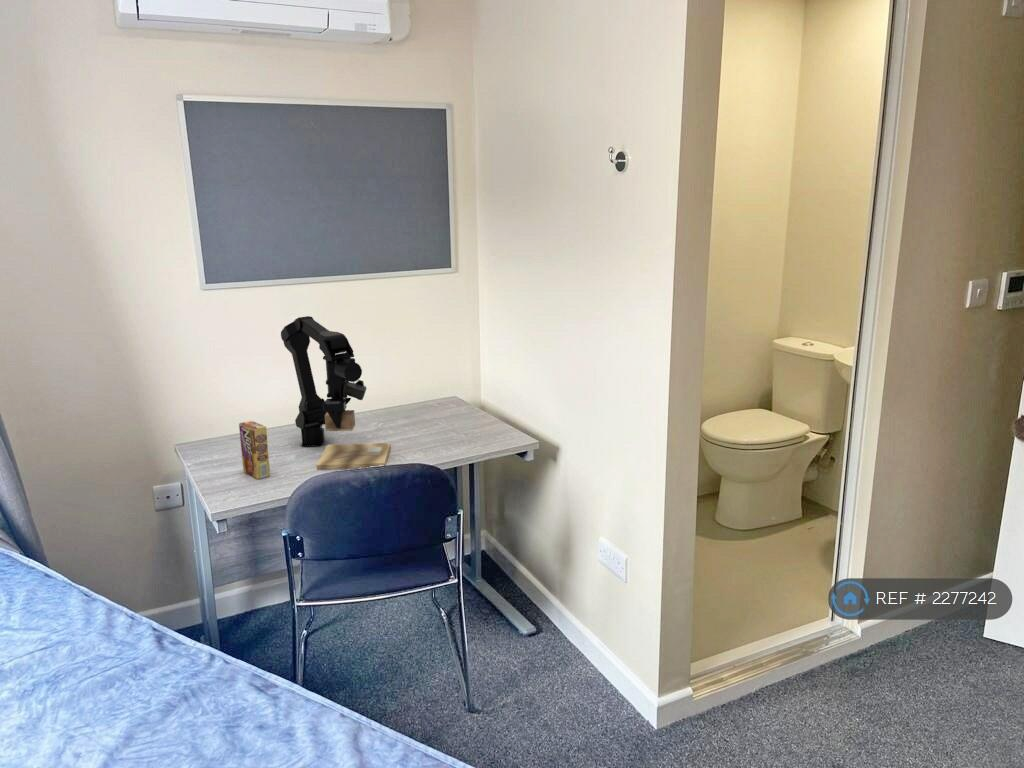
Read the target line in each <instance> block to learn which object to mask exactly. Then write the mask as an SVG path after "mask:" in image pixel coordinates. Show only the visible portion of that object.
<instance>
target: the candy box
mask: <svg viewBox="0 0 1024 768" xmlns="http://www.w3.org/2000/svg"><path fill="white" fill-rule="evenodd" d="M238 427H239V429H238V430H239V439H240V447H241V448H240V449H241V450H240V451H241V460H242V468H243V469H242V470H243V473H245V474H246V475H248V476H251V477H253V478H255V479H257V480H260V479H263V478H267V477H270V476H271V471H270V457H269V444H268V434H267V433H268V432H267V426H266V425H263V424H260V423H257V422H256V421H253V420H247V421H246V420H245V421H243V422H240V423H238Z"/></svg>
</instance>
